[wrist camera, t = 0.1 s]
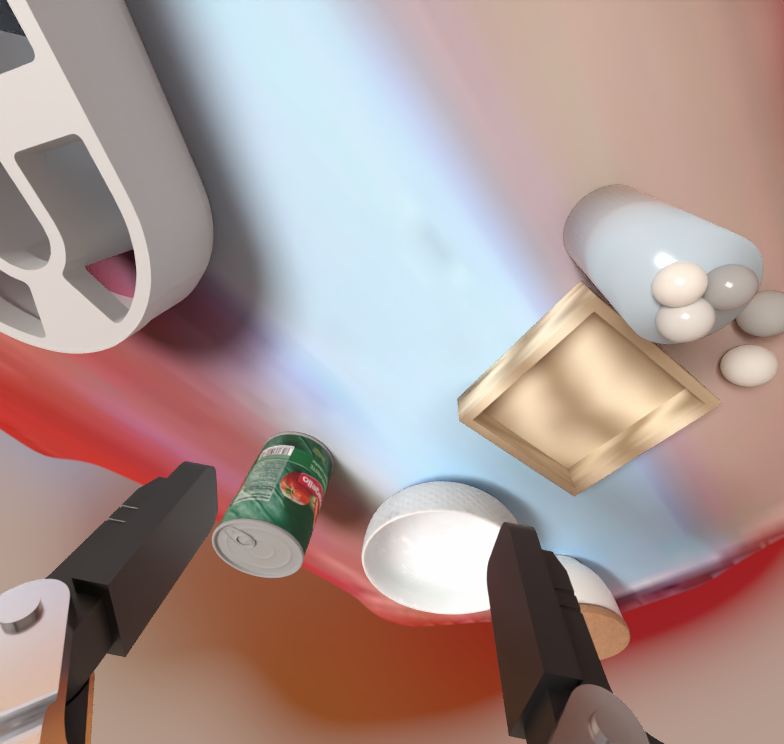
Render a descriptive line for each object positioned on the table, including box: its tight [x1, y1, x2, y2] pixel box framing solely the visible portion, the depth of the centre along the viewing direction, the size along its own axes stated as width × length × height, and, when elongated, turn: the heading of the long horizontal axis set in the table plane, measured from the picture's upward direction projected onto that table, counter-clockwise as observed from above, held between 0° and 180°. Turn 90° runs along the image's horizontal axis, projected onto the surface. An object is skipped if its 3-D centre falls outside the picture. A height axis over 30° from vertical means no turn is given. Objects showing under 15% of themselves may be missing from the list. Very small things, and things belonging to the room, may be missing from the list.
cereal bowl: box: [362, 481, 518, 614], centre depth 40 cm, size 17×17×7 cm
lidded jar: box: [555, 555, 630, 660], centre depth 43 cm, size 11×11×9 cm
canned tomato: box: [212, 432, 334, 578], centre depth 37 cm, size 8×8×11 cm
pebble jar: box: [563, 184, 763, 344], centre depth 21 cm, size 5×5×13 cm
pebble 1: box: [736, 291, 784, 337], centre depth 27 cm, size 3×3×3 cm
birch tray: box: [458, 281, 722, 496], centre depth 32 cm, size 14×14×3 cm
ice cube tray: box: [0, 0, 214, 353], centre depth 23 cm, size 17×28×9 cm, turn 13°
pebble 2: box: [720, 345, 778, 387], centre depth 29 cm, size 3×3×3 cm
